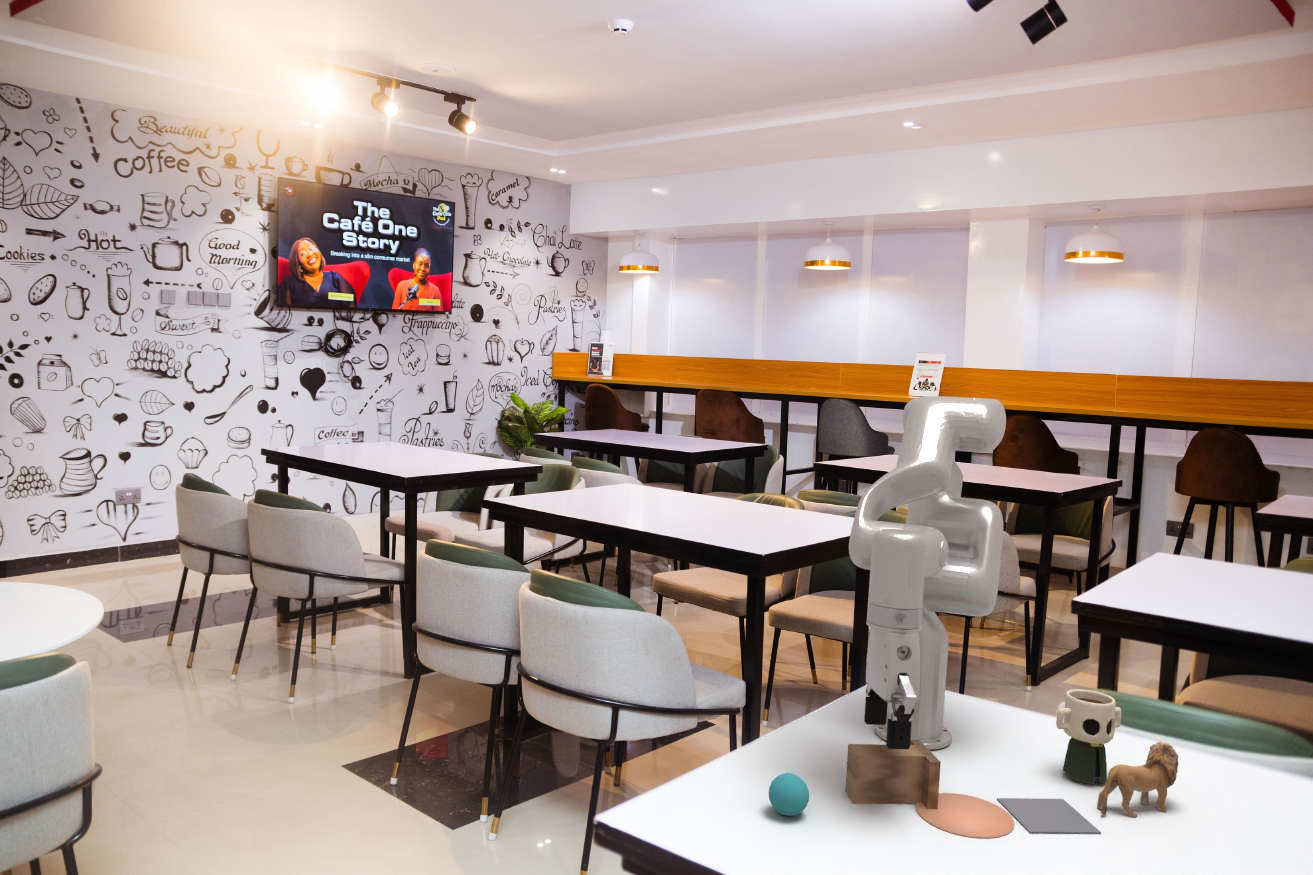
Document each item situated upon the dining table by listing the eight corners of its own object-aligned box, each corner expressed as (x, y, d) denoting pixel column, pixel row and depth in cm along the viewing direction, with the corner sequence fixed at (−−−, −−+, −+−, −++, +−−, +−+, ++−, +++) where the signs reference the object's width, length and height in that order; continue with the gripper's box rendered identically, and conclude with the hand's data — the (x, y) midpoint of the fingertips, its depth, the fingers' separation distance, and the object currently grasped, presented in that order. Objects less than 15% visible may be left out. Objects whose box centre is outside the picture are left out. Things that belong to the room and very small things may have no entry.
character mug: (1066, 789, 138) (1073, 705, 138) (1039, 769, 145) (1045, 689, 145) (1131, 787, 140) (1138, 703, 140) (1100, 767, 147) (1107, 688, 147)
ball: (759, 809, 127) (761, 770, 127) (790, 801, 130) (792, 763, 130) (784, 826, 123) (787, 786, 122) (816, 818, 125) (818, 778, 125)
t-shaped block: (857, 809, 129) (860, 760, 128) (841, 784, 137) (844, 738, 136) (937, 810, 130) (940, 762, 129) (916, 785, 138) (919, 739, 137)
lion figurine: (1150, 792, 139) (1155, 734, 138) (1185, 808, 134) (1190, 747, 134) (1086, 810, 132) (1090, 748, 132) (1119, 826, 127) (1124, 763, 127)
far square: (1030, 833, 124) (1030, 831, 124) (996, 799, 134) (996, 798, 134) (1101, 833, 125) (1101, 832, 125) (1062, 800, 135) (1062, 798, 135)
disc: (896, 804, 131) (896, 803, 131) (959, 787, 137) (959, 786, 137) (970, 846, 120) (970, 845, 120) (1034, 825, 126) (1034, 824, 126)
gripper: (943, 632, 123) (934, 759, 123) (898, 605, 140) (891, 716, 141) (888, 630, 122) (879, 757, 123) (850, 602, 139) (843, 714, 140)
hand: (885, 735), depth 132 cm, fingers open, 9 cm apart
